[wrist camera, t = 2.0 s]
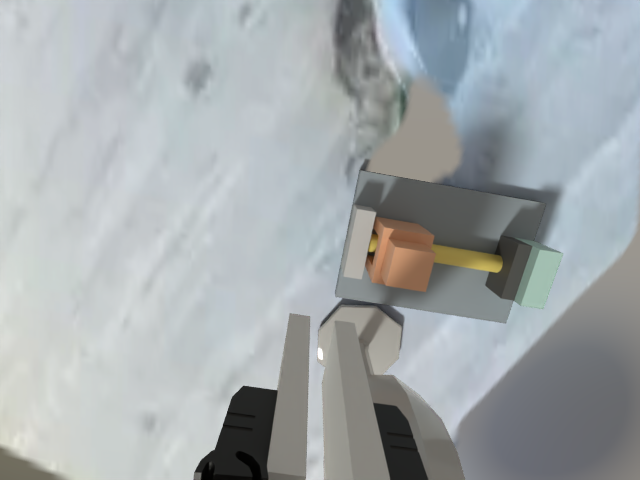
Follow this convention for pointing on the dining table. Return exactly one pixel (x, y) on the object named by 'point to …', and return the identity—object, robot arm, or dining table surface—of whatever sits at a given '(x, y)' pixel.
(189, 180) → the dining table surface
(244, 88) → the dining table surface
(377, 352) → the wineglass
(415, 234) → the sleeve
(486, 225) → the linear slide rail
